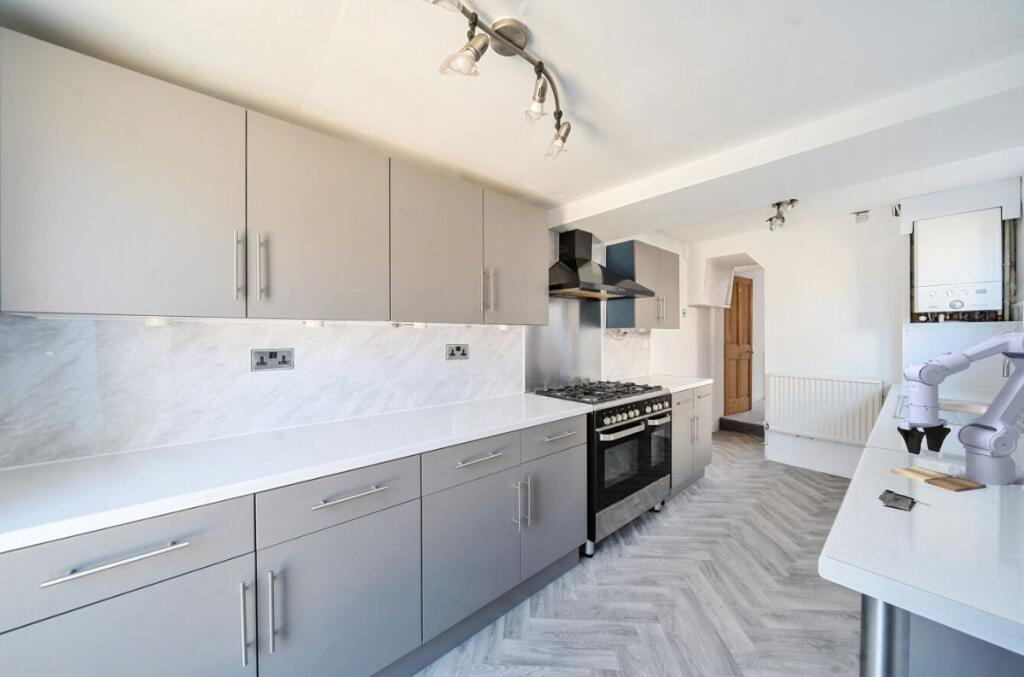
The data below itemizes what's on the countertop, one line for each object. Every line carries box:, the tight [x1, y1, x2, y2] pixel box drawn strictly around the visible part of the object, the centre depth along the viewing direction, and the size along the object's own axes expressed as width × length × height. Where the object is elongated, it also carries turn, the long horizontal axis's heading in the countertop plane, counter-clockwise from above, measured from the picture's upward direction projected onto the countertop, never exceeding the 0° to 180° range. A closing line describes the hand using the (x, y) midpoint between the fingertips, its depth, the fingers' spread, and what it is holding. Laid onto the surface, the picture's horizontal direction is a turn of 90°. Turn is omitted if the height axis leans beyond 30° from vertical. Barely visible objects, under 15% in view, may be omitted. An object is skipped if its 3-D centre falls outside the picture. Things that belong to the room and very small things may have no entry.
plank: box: [890, 465, 954, 483], centre depth 108 cm, size 11×8×2 cm
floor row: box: [927, 476, 987, 493], centre depth 106 cm, size 11×16×2 cm
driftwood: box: [877, 489, 915, 511], centre depth 98 cm, size 21×7×2 cm, turn 122°
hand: (923, 452), depth 107 cm, fingers open, 7 cm apart
